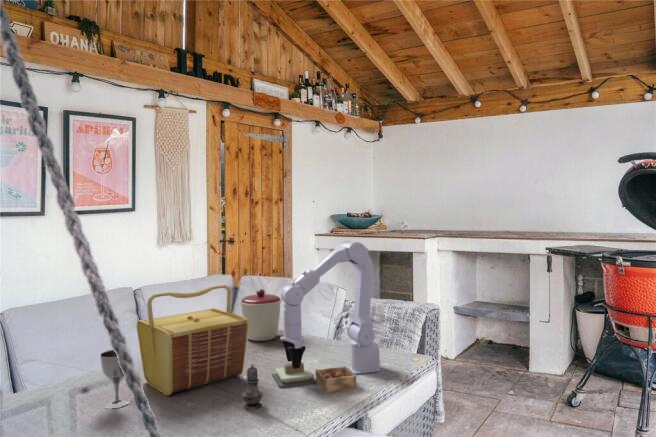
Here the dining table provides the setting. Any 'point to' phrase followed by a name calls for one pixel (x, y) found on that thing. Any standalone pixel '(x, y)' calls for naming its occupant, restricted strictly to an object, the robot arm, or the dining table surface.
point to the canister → (261, 315)
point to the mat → (282, 384)
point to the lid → (294, 373)
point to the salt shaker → (252, 390)
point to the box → (335, 379)
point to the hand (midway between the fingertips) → (293, 364)
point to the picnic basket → (192, 345)
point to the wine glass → (112, 370)
